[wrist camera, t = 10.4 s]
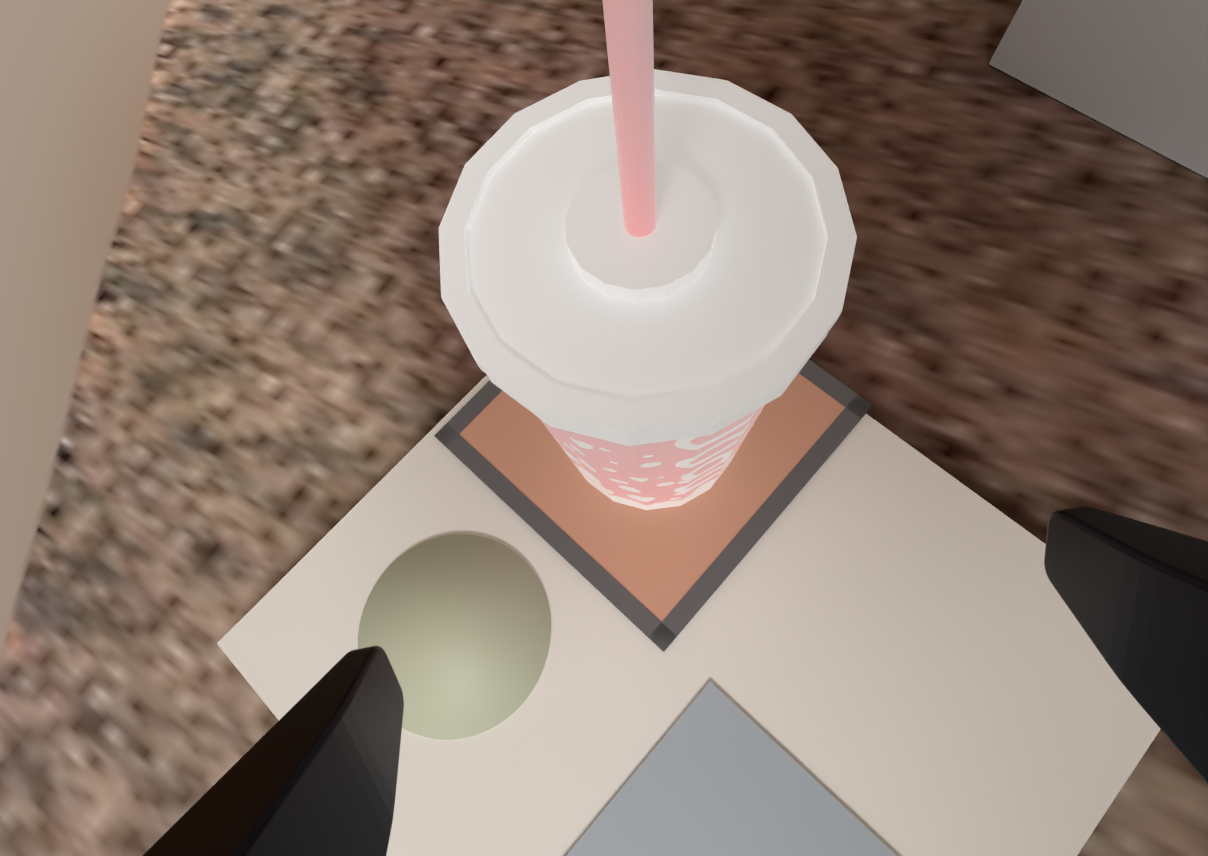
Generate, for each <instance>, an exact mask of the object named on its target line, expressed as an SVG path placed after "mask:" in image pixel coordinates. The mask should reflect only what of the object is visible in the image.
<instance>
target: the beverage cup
mask: <svg viewBox="0 0 1208 856" xmlns="http://www.w3.org/2000/svg"><path fill="white" fill-rule="evenodd" d="M603 10H604V20H605V31H606V41H607V52H608V62H609V73H610V76H607V77H601V78H594V79H588V80H582V81H579V82H577V83H575V84H573V85H571V86H569V87H567V88H565V89H563V90H561V91H559V92H557V93H555V94H553V95H551V96H549V97H547V98H545V99H543V100H541V101H539V102H537V103H535V104H533V105H531V106H529V107H527V108H525V109H523V110H521V111H519V112H517V113H515V114H514V115H513V116H512V117H511V118H510V119H509V120H508V121H507V122H506V123H505V124H504V125H503V126H502V127H501V128H500V129H499V130H498V131H497V132H496V133H495V134H494V135H493V136H492V137H491V138H490V139H489V140H488V141H487V142H486V144H485V145H484V146H483V147H482V148H481V149H480V150H479V151H478V152H477V153H476V154H475V155H474V156H473V157H472V158H471V159H470V160H469V161H468V162H467V163H466V164H465V166H464V168H463V171H462V173H461V176H460V178H459V180H458V183H457V185H456V188H455V190H454V192H453V195H452V197H451V200H450V202H449V205H448V207H447V209H446V212H445V214H444V217H443V219H442V221H441V224H440V226H439V251H440V278H441V298H442V300H443V302H444V303H445V305H446V307H447V309H448V311H449V313H450V315H451V316H452V318H453V320H454V322H455V324H456V326H457V328H458V330H459V331H460V333H461V335H462V337H463V339H464V341H465V343H466V344H467V346H468V348H469V350H470V352H471V354H472V356H473V358H474V359H475V361H476V363H477V364H478V366H479V367H480V369H481V370H482V371H483V372H485V373H486V374H487V375H488V377H489V379H490V381H491V382H492V383H493V384H494V385H496V386H497V387H498V388H500V389H501V390H502V391H504V392H505V393H506V394H508V395H509V396H510V397H512V398H513V399H514V400H516V401H517V402H518V403H520V404H521V405H522V406H524V407H525V408H526V409H528V410H529V411H530V412H532V413H533V414H534V415H536V416H537V417H538V418H539V419H540V420H541V421H542V423H543V424H544V425H545V427H546V428H547V429H548V430H549V432H550V433H551V434H552V436H553V437H554V438H555V440H556V441H557V442H558V444H559V445H560V446H561V447H562V449H563V450H564V451H565V453H566V454H567V455H568V457H569V458H570V459H571V461H572V462H573V463H574V464H575V466H576V467H577V468H578V470H579V471H580V472H581V474H582V475H583V476H584V478H585V479H586V480H587V481H588V482H589V483H590V484H592V485H593V486H594V487H595V488H597V489H598V490H599V491H601V492H602V493H603V494H605V495H606V496H607V497H609V498H610V499H611V500H612V501H614V502H618V503H621V504H625V505H629V506H633V507H636V508H640V509H644V510H652V509H660V508H667V507H675V506H681V505H683V504H685V503H686V502H688V501H690V500H692V499H693V498H695V497H697V496H699V495H700V494H702V493H704V492H706V491H707V490H709V489H710V488H711V487H712V486H713V484H714V483H715V482H716V480H717V479H718V478H719V477H720V475H721V474H722V473H723V471H724V470H725V469H726V467H727V466H728V465H729V463H730V462H731V460H732V459H733V457H734V455H735V454H736V452H737V450H738V449H739V447H740V445H741V444H742V442H743V441H744V439H745V437H746V436H747V434H748V432H749V431H750V429H751V427H752V426H753V424H754V422H755V421H756V419H757V418H758V416H759V414H760V413H761V411H762V409H763V408H764V406H765V404H767V403H769V402H771V401H772V400H774V399H776V398H778V397H780V396H781V395H782V394H783V393H784V391H785V390H786V389H787V387H788V386H789V385H790V383H791V382H792V381H793V379H794V378H795V377H796V376H797V374H798V373H799V372H800V370H801V369H802V368H803V366H804V365H805V364H806V362H807V361H808V360H809V358H810V357H811V356H812V354H813V353H814V352H815V351H816V349H817V348H818V347H819V345H820V344H821V343H822V341H823V340H824V339H825V337H826V336H827V333H828V331H829V330H830V329H831V328H832V326H833V325H834V324H835V322H836V321H837V319H838V318H839V316H840V314H841V312H842V309H843V304H844V299H845V294H846V289H847V284H848V279H849V274H850V269H851V264H852V259H853V254H854V249H855V244H856V239H857V235H856V232H855V228H854V224H853V221H852V217H851V214H850V210H849V206H848V203H847V199H846V196H845V192H844V188H843V185H842V181H841V177H840V174H839V170H838V168H837V167H836V165H835V164H834V163H833V162H832V161H831V160H830V158H829V157H828V156H827V155H826V154H825V153H824V151H823V150H822V149H821V148H820V147H819V146H818V144H817V143H816V142H815V141H814V140H813V139H812V137H811V136H810V135H809V134H808V133H807V132H806V130H805V129H804V128H803V127H802V126H801V125H800V123H799V122H798V121H797V120H796V119H795V118H794V116H793V115H792V114H790V113H788V112H787V111H785V110H783V109H781V108H779V107H777V106H775V105H773V104H771V103H769V102H767V101H766V100H764V99H762V98H760V97H758V96H756V95H754V94H752V93H750V92H748V91H746V90H745V89H743V88H741V87H739V86H737V85H735V84H733V83H731V82H729V81H727V80H722V79H715V78H709V77H702V76H695V75H689V74H682V73H676V72H669V71H662V70H656V69H654V49H653V0H603Z"/></svg>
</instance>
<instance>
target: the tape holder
mask: <svg viewBox="0 0 1208 856" xmlns="http://www.w3.org/2000/svg"><path fill="white" fill-rule="evenodd" d="M989 65H991V66H993V67H995V68H997V69H999V70H1001V71H1003V72H1005V73H1007V74H1008V75H1010V76H1012V77H1014V78H1016V79H1018V80H1020V81H1022V82H1024V83H1026V84H1028V85H1030V86H1031V87H1033V88H1035V89H1037V90H1039V91H1041V92H1043V93H1045V94H1047V95H1049V96H1051V97H1053V98H1054V99H1056V100H1058V101H1060V102H1062V103H1064V104H1066V105H1068V106H1070V107H1072V108H1074V109H1076V110H1077V111H1079V112H1081V113H1083V114H1085V115H1087V116H1089V117H1091V118H1093V119H1095V120H1097V121H1099V122H1100V123H1102V124H1104V125H1106V126H1108V127H1110V128H1112V129H1114V130H1116V131H1118V132H1120V133H1122V134H1123V135H1125V136H1127V137H1129V138H1131V139H1133V140H1135V141H1137V142H1139V143H1141V144H1143V145H1144V146H1146V147H1148V148H1150V149H1152V150H1154V151H1156V152H1158V153H1160V154H1162V155H1164V156H1166V157H1167V158H1169V159H1171V160H1173V161H1175V162H1177V163H1179V164H1181V165H1183V166H1185V167H1187V168H1189V169H1190V170H1192V171H1194V172H1196V173H1198V174H1200V175H1202V176H1204V177H1206V178H1208V0H1023V1H1022V3H1021V4H1020V6H1019V8H1018V10H1017V12H1016V14H1015V15H1014V17H1013V19H1012V21H1011V23H1010V25H1009V27H1008V28H1007V30H1006V32H1005V34H1004V36H1003V38H1002V40H1001V41H1000V43H999V45H998V47H997V49H996V51H995V52H994V54H993V56H992V58H991V60H990V62H989Z"/></svg>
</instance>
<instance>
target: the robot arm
mask: <svg viewBox="0 0 1208 856" xmlns="http://www.w3.org/2000/svg"><path fill="white" fill-rule="evenodd" d="M1044 566H1045V571H1046V574H1047V576H1048V578H1049V580H1050V582H1051V583H1052V585H1053V586H1054V588H1055V589H1056V591H1057V592H1058V594H1059V595H1060V596H1061V598H1062V599H1063V601H1064V602H1065V604H1066V605H1067V606H1068V608H1069V609H1070V611H1071V612H1072V614H1073V615H1074V616H1075V618H1076V619H1077V621H1078V622H1079V624H1080V625H1081V626H1082V628H1083V629H1084V631H1085V632H1086V634H1087V635H1088V636H1089V638H1090V639H1091V641H1092V642H1093V644H1094V645H1095V647H1096V648H1097V649H1098V651H1099V652H1100V654H1101V655H1102V657H1103V658H1104V659H1105V661H1106V662H1107V664H1108V665H1109V666H1110V668H1111V669H1112V670H1113V672H1114V673H1115V674H1116V676H1117V677H1118V679H1119V680H1120V681H1121V682H1122V684H1123V685H1124V686H1125V687H1126V689H1127V690H1128V691H1129V692H1130V693H1131V695H1132V696H1133V697H1134V698H1135V700H1136V701H1137V702H1138V703H1139V704H1140V705H1141V707H1142V708H1143V709H1144V710H1145V711H1146V712H1147V714H1148V715H1149V716H1150V717H1151V718H1152V720H1153V721H1154V722H1155V723H1156V724H1157V725H1158V727H1159V728H1160V729H1161V730H1162V731H1163V732H1164V734H1165V735H1166V736H1167V737H1168V738H1169V739H1170V741H1171V742H1172V743H1173V744H1174V745H1175V746H1176V748H1177V749H1178V750H1179V751H1180V752H1181V754H1182V755H1183V756H1184V757H1185V758H1186V759H1187V761H1188V762H1189V763H1190V764H1191V765H1192V766H1193V768H1194V769H1195V770H1196V771H1197V772H1198V773H1199V775H1200V776H1201V777H1202V778H1203V779H1204V780H1205V782H1206V783H1207V784H1208V541H1205V540H1201V539H1198V538H1195V537H1191V536H1188V535H1184V534H1181V533H1178V532H1174V531H1171V530H1167V529H1164V528H1161V527H1157V526H1154V525H1151V524H1147V523H1144V522H1140V521H1137V520H1134V519H1130V518H1127V517H1123V516H1120V515H1117V514H1113V513H1110V512H1107V511H1103V510H1100V509H1096V508H1093V507H1089V506H1079V507H1074V508H1069V509H1064V510H1058V511H1056V512H1054V513H1052V514H1051V516H1050V518H1049V520H1048V527H1047V537H1046V547H1045V557H1044ZM403 711H404V698H403V692H402V689H401V686H400V684H399V682H398V679H397V677H396V675H395V672H394V670H393V668H392V666H391V663H390V661H389V659H388V657H387V654H386V652H385V651H384V649H383V648H382V647H380V646H370V647H365V648H360V649H355V650H352V651H350V652H348V653H347V654H346V655H345V656H344V657H343V658H342V659H341V660H340V661H339V662H337V663H336V664H335V665H334V666H333V667H332V668H331V669H330V670H329V671H328V672H327V673H326V674H325V675H324V676H323V677H322V678H321V679H320V680H319V681H318V682H317V683H316V684H315V685H314V686H313V687H312V688H311V689H310V690H309V691H308V692H307V693H306V694H305V695H304V696H303V697H302V698H301V699H300V700H299V701H298V702H297V703H296V704H295V705H294V706H293V707H292V708H291V709H290V710H289V711H288V712H287V713H286V714H285V715H284V716H283V717H282V718H281V719H280V720H279V721H278V722H277V723H276V724H275V725H274V726H273V727H272V728H271V729H270V730H269V731H268V732H267V733H266V734H265V735H264V736H263V737H262V738H261V739H260V740H259V741H258V742H257V743H256V744H255V745H254V746H253V747H252V748H251V749H250V750H249V751H248V752H247V753H246V754H245V755H244V756H243V757H242V758H241V759H240V760H239V761H238V762H237V763H236V764H235V765H234V766H233V767H232V768H231V769H230V770H229V771H228V772H227V773H226V774H225V775H224V776H223V777H222V778H221V779H220V780H219V781H218V782H217V783H216V784H215V785H213V786H212V787H211V788H210V789H209V790H208V791H207V792H206V793H205V794H204V795H203V796H202V797H201V798H200V799H199V800H198V801H197V802H196V803H195V804H194V805H193V806H192V807H191V808H190V809H189V810H188V811H187V812H186V813H185V814H184V815H183V816H182V817H181V818H180V819H179V820H178V821H177V822H176V823H175V824H174V825H173V826H172V827H171V828H170V829H169V830H168V831H167V832H166V833H165V834H164V835H163V836H162V837H161V838H160V839H159V840H158V841H157V842H156V843H155V844H154V845H153V846H152V847H151V848H150V849H149V850H148V851H147V852H146V853H145V854H144V855H143V856H386V854H387V849H388V844H389V839H390V833H391V828H392V822H393V815H394V806H395V797H396V786H397V775H398V765H399V754H400V743H401V732H402V722H403Z"/></svg>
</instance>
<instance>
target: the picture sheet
mask: <svg viewBox="0 0 1208 856" xmlns="http://www.w3.org/2000/svg"><path fill="white" fill-rule="evenodd" d="M872 406H873V405H872V404H870V403H869V402H868V401H866V400H865V399H863V398H862V397H861V396H859V395H858V394H857V393H855V392H854V391H852V390H851V389H850V388H848V387H847V386H845V385H844V384H843V383H841V382H840V381H839V380H837V379H836V378H834V377H833V376H832V375H830V374H829V373H827V372H826V371H825V370H823V369H822V368H821V367H819V366H818V365H816V364H815V363H814V362H812V361H811V360H808V361H807V362H806V364H805V365H804V366H803V368H802V369H801V370H800V372H799V373H798V374H797V376H796V377H795V378H794V379H793V381H792V382H791V383H790V385H789V386H788V387H787V389H786V390H785V391H784V393H783V394H782V395H781V396H780V397H778V398H776V399H774V400H772V401H771V402H769V403H767V404H765V406H764V408H763V409H762V411H761V413H760V414H759V416H758V418H757V419H756V421H755V422H754V424H753V426H752V427H751V429H750V431H749V432H748V434H747V436H746V437H745V439H744V441H743V442H742V444H741V445H740V447H739V449H738V450H737V452H736V454H735V455H734V457H733V459H732V460H731V462H730V463H729V465H728V466H727V467H726V469H725V470H724V471H723V473H722V474H721V475H720V477H719V478H718V479H717V480H716V482H715V483H714V484H713V486H712V487H711V488H710V489H709V490H707V491H706V492H704V493H702V494H700V495H699V496H697V497H695V498H693V499H692V500H690V501H688V502H686V503H685V504H683V505H681V506H675V507H667V508H660V509H652V510H644V509H640V508H636V507H633V506H629V505H625V504H621V503H618V502H614V501H612V500H611V499H610V498H609V497H607V496H606V495H605V494H603V493H602V492H601V491H599V490H598V489H597V488H595V487H594V486H593V485H592V484H590V483H589V482H588V481H587V480H586V479H585V478H584V476H583V475H582V474H581V472H580V471H579V470H578V468H577V467H576V466H575V464H574V463H573V462H572V461H571V459H570V458H569V457H568V455H567V454H566V453H565V451H564V450H563V449H562V447H561V446H560V445H559V444H558V442H557V441H556V440H555V438H554V437H553V436H552V434H551V433H550V432H549V430H548V429H547V428H546V427H545V425H544V424H543V423H542V421H541V420H540V419H539V418H538V417H537V416H536V415H534V414H533V413H532V412H530V411H529V410H528V409H526V408H525V407H524V406H522V405H521V404H520V403H518V402H517V401H516V400H514V399H513V398H512V397H510V396H509V395H508V394H506V393H505V392H504V391H502V390H501V389H500V388H498V387H497V386H496V385H494V384H493V383H492V382H491V381H490V379H489V377H488V375H486V376H485V377H484V378H483V379H482V380H481V381H480V382H479V383H478V384H477V385H476V386H475V387H474V388H473V389H472V390H471V391H470V392H469V393H468V394H467V395H466V396H465V397H464V398H463V399H462V400H461V401H460V402H459V403H458V404H457V405H456V406H455V407H454V408H453V409H452V410H451V411H450V412H449V413H448V414H447V415H446V416H445V417H444V418H443V419H442V420H441V421H440V422H439V423H438V424H437V425H436V426H435V427H434V428H433V429H432V430H431V431H430V432H429V433H428V434H427V435H426V436H425V437H424V438H423V439H422V440H421V441H420V442H419V443H418V444H417V445H416V446H415V447H414V448H413V449H412V450H411V451H410V452H409V453H408V454H407V455H406V456H405V457H404V458H403V459H402V460H401V461H400V462H399V463H398V464H397V465H396V466H395V467H394V468H393V469H392V470H391V471H390V472H389V473H388V474H387V475H386V476H385V477H384V478H383V479H382V480H381V481H380V482H379V483H378V484H377V485H376V486H375V487H374V488H373V489H372V490H371V491H370V492H369V493H368V494H367V495H366V496H365V497H364V498H363V499H362V500H361V501H359V502H358V503H357V504H356V505H355V506H354V507H353V508H352V509H351V510H350V511H349V512H348V513H347V514H346V515H345V516H344V517H343V518H342V519H341V520H340V521H339V522H338V523H337V524H336V525H335V526H334V527H333V528H332V529H331V530H330V531H329V532H328V533H327V534H326V535H325V536H324V537H323V538H322V539H321V540H320V541H319V542H318V543H317V544H316V545H315V546H314V547H313V548H312V549H311V550H310V551H309V552H308V553H307V554H306V555H305V556H304V557H303V558H302V559H301V560H300V561H299V562H298V563H297V564H296V565H295V566H294V567H293V568H292V569H291V570H290V571H289V572H288V573H287V574H286V575H285V576H284V577H283V578H282V579H281V580H280V581H279V582H278V583H277V584H276V585H275V586H274V587H273V588H272V589H271V590H270V591H269V592H268V593H267V594H266V595H265V596H264V597H263V598H262V599H261V600H260V601H259V602H258V603H257V604H256V605H255V606H254V607H253V608H252V609H251V610H250V611H249V612H248V613H247V614H246V615H245V616H244V617H243V618H242V619H241V620H240V621H239V622H238V623H237V624H236V625H235V626H234V627H233V628H232V629H231V630H230V631H229V632H228V633H227V634H226V635H225V636H224V637H223V638H222V639H221V640H220V641H219V642H218V643H217V644H218V645H219V647H220V648H221V649H222V650H223V652H224V653H225V654H226V655H227V657H228V658H229V659H230V660H231V661H232V663H233V664H234V665H235V666H236V668H237V669H238V670H239V671H240V673H241V674H242V675H243V676H244V678H245V679H246V680H247V681H248V683H249V684H250V685H251V686H252V688H253V689H254V690H255V691H256V693H257V694H258V695H259V696H260V698H261V699H262V700H263V701H264V703H265V704H266V705H267V706H268V708H269V709H270V710H271V711H272V713H273V714H274V715H275V716H276V718H277V719H278V720H280V719H281V718H282V717H283V716H284V715H285V714H286V713H287V712H288V711H289V710H290V709H291V708H292V707H293V706H294V705H295V704H296V703H297V702H298V701H299V700H300V699H301V698H302V697H303V696H304V695H305V694H306V693H307V692H308V691H309V690H310V689H311V688H312V687H313V686H314V685H315V684H316V683H317V682H318V681H319V680H320V679H321V678H322V677H323V676H324V675H325V674H326V673H327V672H328V671H329V670H330V669H331V668H332V667H333V666H334V665H335V664H336V663H337V662H339V661H340V660H341V659H342V658H343V657H344V656H345V655H346V654H347V653H348V652H350V651H352V650H355V649H360V648H365V647H370V646H380V647H382V648H383V649H384V651H385V652H386V654H387V657H388V659H389V661H390V663H391V666H392V668H393V670H394V672H395V675H396V677H397V679H398V682H399V684H400V686H401V689H402V692H403V698H404V711H403V722H402V732H401V743H400V754H399V765H398V775H397V786H396V797H395V806H394V815H393V822H392V828H391V833H390V839H389V844H388V849H387V854H386V855H387V856H1077V855H1078V853H1079V852H1080V850H1081V849H1082V847H1083V846H1084V844H1085V843H1086V841H1087V840H1088V838H1089V837H1090V835H1091V834H1092V832H1093V831H1094V829H1095V828H1096V826H1097V825H1098V823H1099V822H1100V820H1101V819H1102V817H1103V816H1104V814H1105V813H1106V811H1107V810H1108V808H1109V807H1110V805H1111V804H1112V802H1113V801H1114V799H1115V797H1116V796H1117V794H1118V793H1119V791H1120V790H1121V788H1122V787H1123V785H1124V784H1125V782H1126V781H1127V779H1128V778H1129V776H1130V775H1131V773H1132V772H1133V770H1134V769H1135V767H1136V766H1137V764H1138V763H1139V761H1140V760H1141V758H1142V757H1143V755H1144V754H1145V752H1146V751H1147V749H1148V748H1149V746H1150V745H1151V743H1152V742H1153V740H1154V738H1155V737H1156V735H1157V734H1158V732H1159V731H1160V728H1159V727H1158V725H1157V724H1156V723H1155V722H1154V721H1153V720H1152V718H1151V717H1150V716H1149V715H1148V714H1147V712H1146V711H1145V710H1144V709H1143V708H1142V707H1141V705H1140V704H1139V703H1138V702H1137V701H1136V700H1135V698H1134V697H1133V696H1132V695H1131V693H1130V692H1129V691H1128V690H1127V689H1126V687H1125V686H1124V685H1123V684H1122V682H1121V681H1120V680H1119V679H1118V677H1117V676H1116V674H1115V673H1114V672H1113V670H1112V669H1111V668H1110V666H1109V665H1108V664H1107V662H1106V661H1105V659H1104V658H1103V657H1102V655H1101V654H1100V652H1099V651H1098V649H1097V648H1096V647H1095V645H1094V644H1093V642H1092V641H1091V639H1090V638H1089V636H1088V635H1087V634H1086V632H1085V631H1084V629H1083V628H1082V626H1081V625H1080V624H1079V622H1078V621H1077V619H1076V618H1075V616H1074V615H1073V614H1072V612H1071V611H1070V609H1069V608H1068V606H1067V605H1066V604H1065V602H1064V601H1063V599H1062V598H1061V596H1060V595H1059V594H1058V592H1057V591H1056V589H1055V588H1054V586H1053V585H1052V583H1051V582H1050V580H1049V578H1048V576H1047V574H1046V571H1045V566H1044V557H1045V547H1046V544H1045V543H1043V542H1042V541H1041V540H1039V539H1038V538H1036V537H1035V536H1034V535H1032V534H1031V533H1030V532H1028V531H1027V530H1025V529H1024V528H1023V527H1021V526H1020V525H1019V524H1017V523H1016V522H1014V521H1013V520H1012V519H1010V518H1009V517H1008V516H1006V515H1005V514H1003V513H1002V512H1001V511H999V510H998V509H997V508H995V507H994V506H992V505H991V504H990V503H988V502H987V501H986V500H984V499H983V498H981V497H980V496H979V495H977V494H976V493H975V492H973V491H972V490H970V489H969V488H968V487H966V486H965V485H964V484H962V483H961V482H959V481H958V480H957V479H955V478H954V477H953V476H951V475H950V474H948V473H947V472H946V471H944V470H943V469H942V468H940V467H939V466H937V465H936V464H935V463H933V462H932V461H931V460H929V459H928V458H926V457H925V456H924V455H922V454H921V453H920V452H918V451H917V450H915V449H914V448H913V447H911V446H910V445H909V444H907V443H906V442H904V441H903V440H902V439H900V438H899V437H898V436H896V435H895V434H894V433H892V432H891V431H889V430H888V429H887V428H885V427H884V426H883V425H881V424H880V423H878V422H877V421H876V420H874V419H873V418H872V417H870V416H869V415H867V414H866V413H867V412H868V411H869V410H870V408H871V407H872Z"/></svg>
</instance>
